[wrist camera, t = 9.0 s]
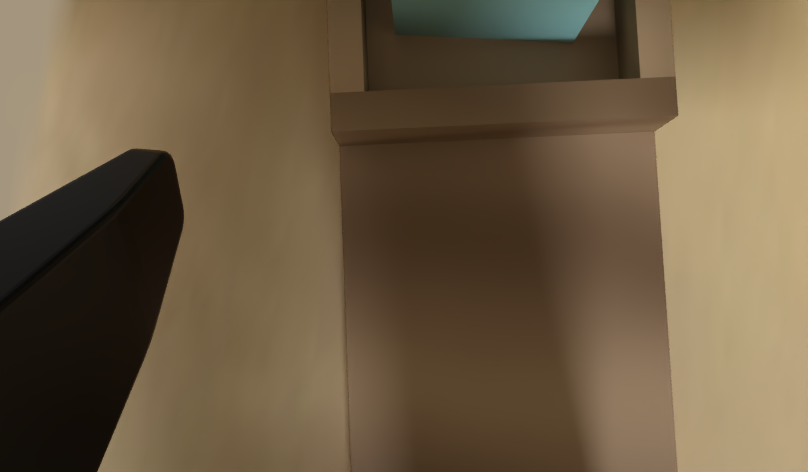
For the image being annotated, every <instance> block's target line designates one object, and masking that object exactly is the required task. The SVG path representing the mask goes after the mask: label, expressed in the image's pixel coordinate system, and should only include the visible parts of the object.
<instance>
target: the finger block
mask: <svg viewBox="0 0 808 472" xmlns="http://www.w3.org/2000/svg"><path fill="white" fill-rule="evenodd" d="M598 1H599V0H391V2H392V11H393V21H394V30H395V35H415V36H436V37H458V38H479V39H500V40H522V41H543V42H564V43H573V42H574V40H575V39H576V37H577V35H578V34H579V32H580V30H581V29H582V27H583V26H584V24H585V22H586V21H587V19H588V17H589V16H590V14H591V12H592V11H593V9H594V8H595V6H596V4H597V3H598Z"/></svg>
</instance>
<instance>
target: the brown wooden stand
mask: <svg viewBox="0 0 808 472" xmlns="http://www.w3.org/2000/svg"><path fill="white" fill-rule="evenodd" d="M327 21H328V50H329V79H330V108H331V132H332V134H333V135H334V137H335V139H336V141H337V142H338V144H339V146H340V169H341V197H342V225H343V253H344V281H345V309H346V337H347V365H348V393H349V422H350V450H351V472H677V457H676V442H675V428H674V413H673V398H672V384H671V369H670V354H669V339H668V325H667V310H666V295H665V281H664V266H663V251H662V236H661V222H660V207H659V192H658V177H657V163H656V148H655V133H654V131H656V130H657V129H659V128H660V127H662V126H663V125H665V124H666V123H668V122H669V121H671V120H672V119H674V118H675V117H677V116H678V106H677V92H676V78H675V64H674V49H673V35H672V21H671V7H670V0H599V1H598V3H597V4H596V6H595V8H594V9H593V11H592V12H591V14H590V16H589V17H588V19H587V21H586V22H585V24H584V26H583V27H582V29H581V30H580V32H579V34H578V35H577V37H576V39H575V40H574V42H573V43H564V42H543V41H522V40H500V39H479V38H458V37H436V36H415V35H395V30H394V21H393V11H392V2H391V0H327Z"/></svg>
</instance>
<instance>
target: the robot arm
mask: <svg viewBox="0 0 808 472" xmlns="http://www.w3.org/2000/svg"><path fill="white" fill-rule="evenodd" d="M183 223H184V210H183V204H182V199H181V194H180V189H179V184H178V179H177V173H176V168H175V164H174V161H173V159H172V157H171V155H170V154H169V153H167V152H166V151H160V150H149V149H131V150H129V151H127V152H125V153H123V154H121V155H119V156H117V157H116V158H114V159H112V160H110V161H108V162H107V163H105V164H103V165H101V166H99V167H97V168H96V169H94V170H92V171H90V172H88V173H87V174H85V175H83V176H81V177H79V178H77V179H76V180H74V181H72V182H70V183H68V184H67V185H65V186H63V187H61V188H59V189H57V190H56V191H54V192H52V193H50V194H48V195H47V196H45V197H43V198H41V199H39V200H37V201H36V202H34V203H32V204H30V205H28V206H27V207H25V208H23V209H21V210H19V211H17V212H16V213H14V214H12V215H10V216H8V217H7V218H5V219H3V220H1V221H0V472H97V471H98V469H99V466H100V464H101V462H102V459H103V457H104V454H105V452H106V450H107V447H108V445H109V442H110V440H111V438H112V435H113V433H114V430H115V428H116V426H117V423H118V421H119V418H120V416H121V414H122V411H123V409H124V406H125V404H126V402H127V399H128V397H129V394H130V392H131V390H132V387H133V385H134V382H135V380H136V378H137V375H138V373H139V370H140V368H141V366H142V363H143V361H144V358H145V356H146V353H147V350H148V348H149V345H150V342H151V340H152V336H153V333H154V330H155V327H156V323H157V320H158V316H159V313H160V309H161V305H162V302H163V298H164V294H165V291H166V287H167V284H168V280H169V276H170V273H171V269H172V266H173V262H174V258H175V255H176V251H177V248H178V244H179V240H180V237H181V233H182V229H183Z"/></svg>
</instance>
